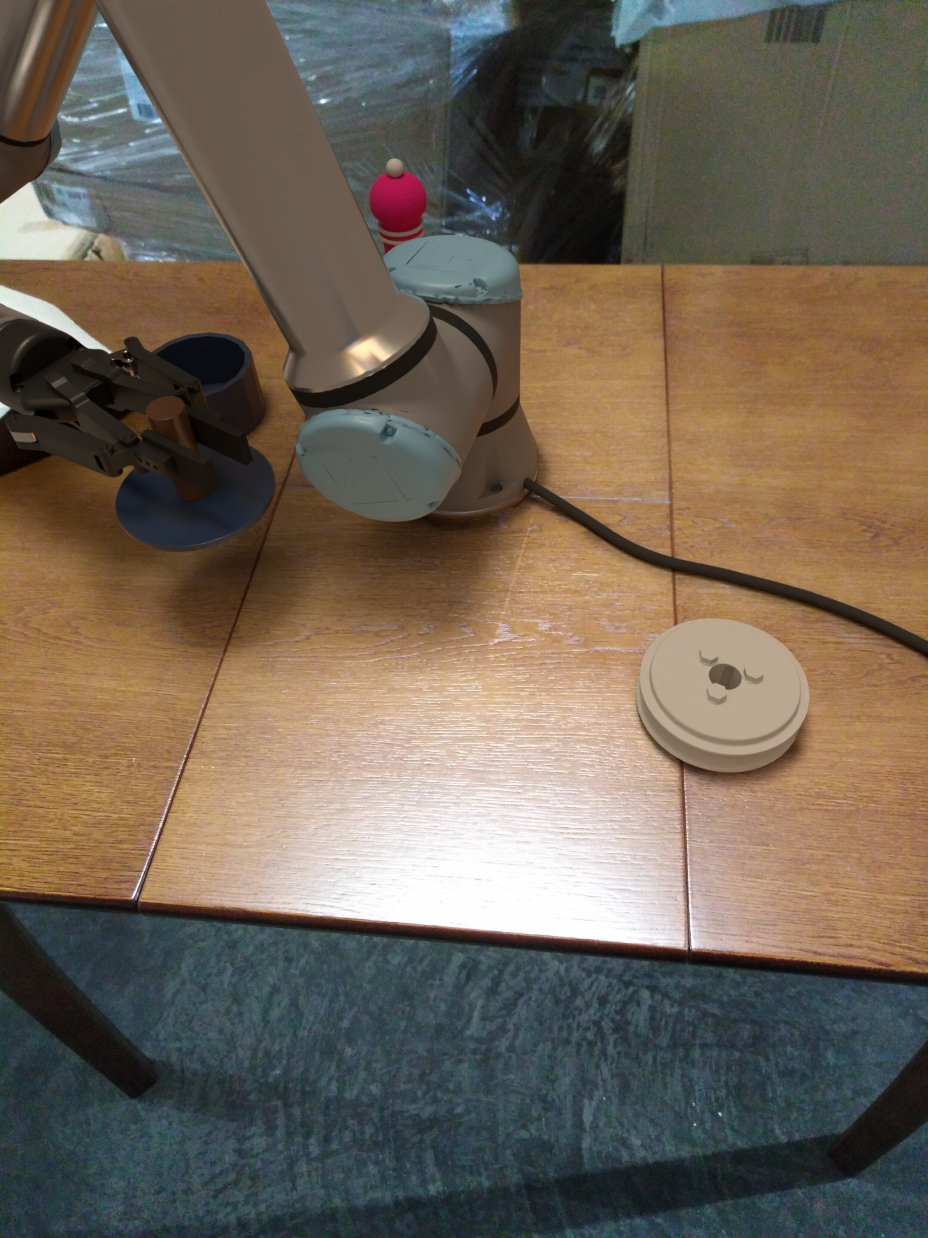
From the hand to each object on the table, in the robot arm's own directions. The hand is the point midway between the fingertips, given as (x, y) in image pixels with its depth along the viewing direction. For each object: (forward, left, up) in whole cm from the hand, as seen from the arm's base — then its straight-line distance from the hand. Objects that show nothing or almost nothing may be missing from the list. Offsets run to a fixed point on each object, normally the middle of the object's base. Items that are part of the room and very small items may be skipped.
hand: (228, 462), depth 65 cm
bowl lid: (+5, -2, -6) cm, 8 cm away
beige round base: (-38, +1, -18) cm, 42 cm away
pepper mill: (+1, -44, -18) cm, 48 cm away
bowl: (+18, -25, -18) cm, 36 cm away
